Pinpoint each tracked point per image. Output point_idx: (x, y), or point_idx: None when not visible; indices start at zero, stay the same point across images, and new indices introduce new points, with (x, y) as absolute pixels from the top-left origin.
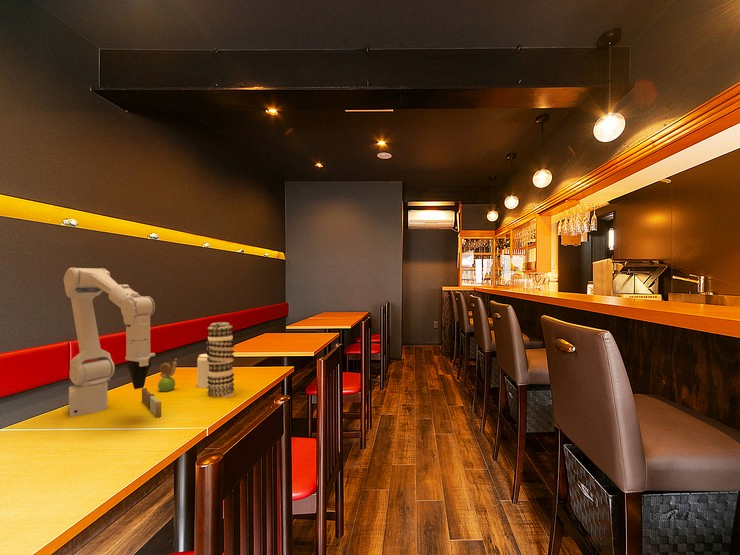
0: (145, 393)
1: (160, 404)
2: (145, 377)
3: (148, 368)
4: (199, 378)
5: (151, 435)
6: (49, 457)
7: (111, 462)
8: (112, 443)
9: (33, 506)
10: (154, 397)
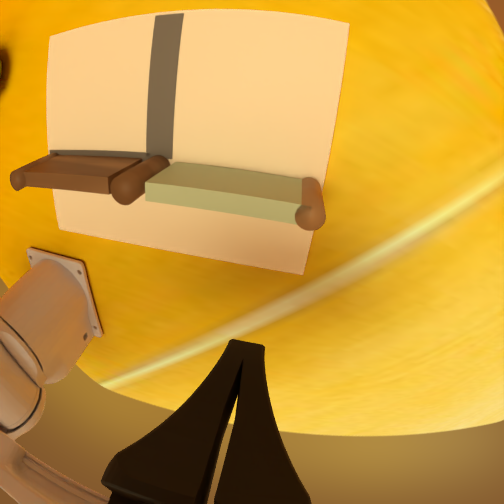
0: (62, 188)
1: (322, 206)
2: (269, 403)
3: (297, 477)
4: None
5: (445, 273)
6: (335, 410)
7: (474, 362)
8: (390, 346)
9: (470, 418)
10: (180, 190)
